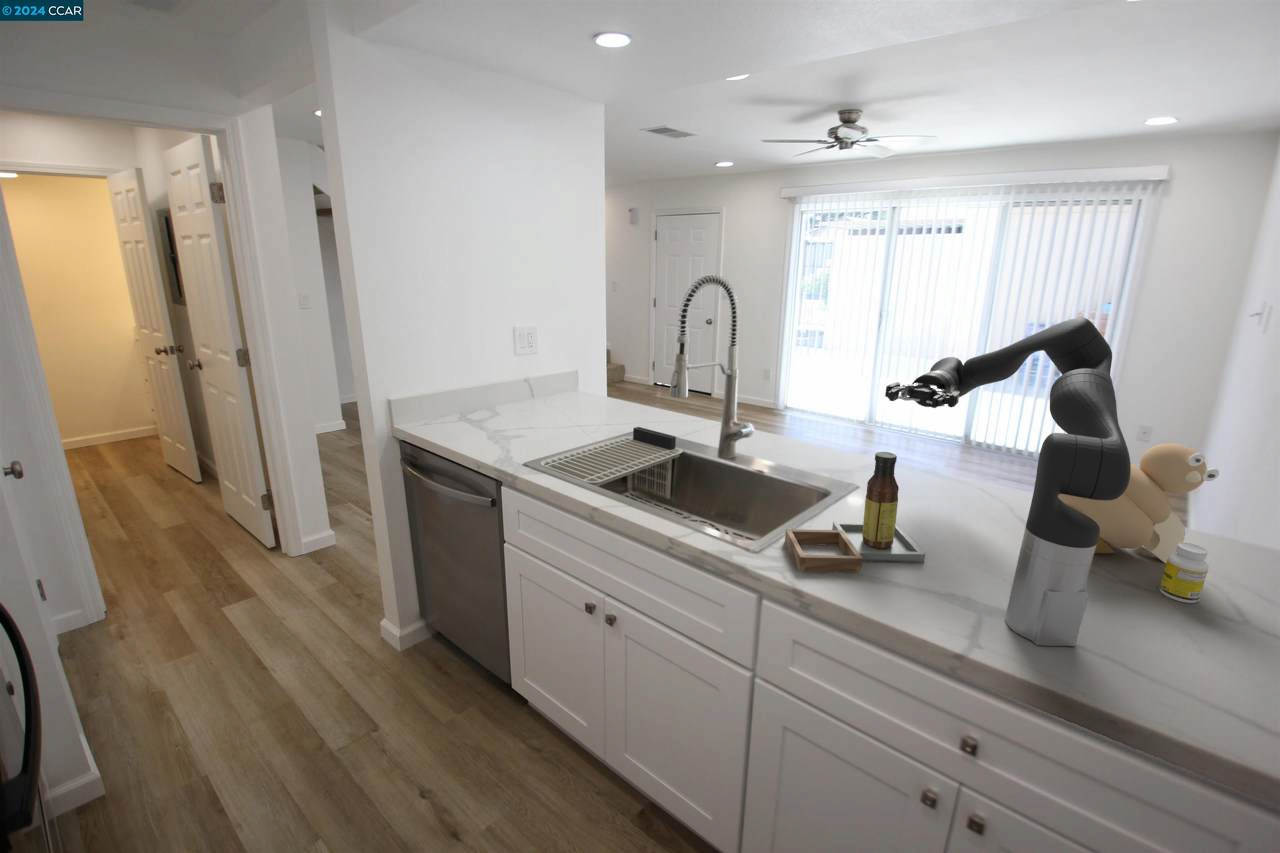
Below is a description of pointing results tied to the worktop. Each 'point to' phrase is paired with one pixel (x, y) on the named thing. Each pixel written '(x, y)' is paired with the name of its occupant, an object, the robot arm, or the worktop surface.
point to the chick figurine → (1147, 502)
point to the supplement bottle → (1185, 573)
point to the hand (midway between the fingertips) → (912, 399)
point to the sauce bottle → (881, 503)
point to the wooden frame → (823, 562)
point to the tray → (897, 553)
